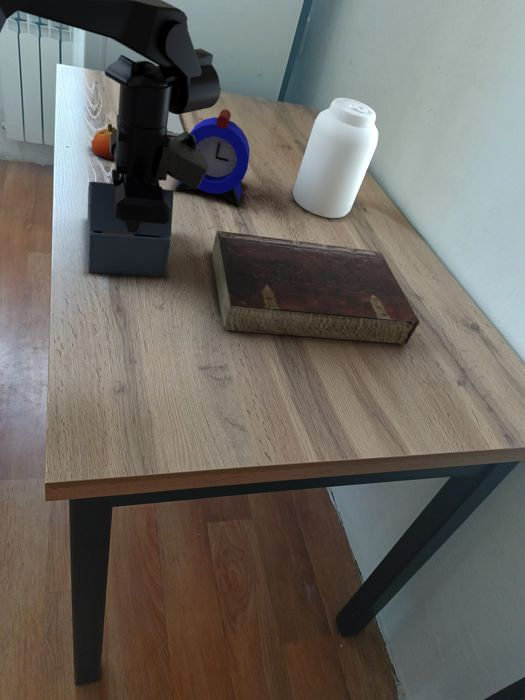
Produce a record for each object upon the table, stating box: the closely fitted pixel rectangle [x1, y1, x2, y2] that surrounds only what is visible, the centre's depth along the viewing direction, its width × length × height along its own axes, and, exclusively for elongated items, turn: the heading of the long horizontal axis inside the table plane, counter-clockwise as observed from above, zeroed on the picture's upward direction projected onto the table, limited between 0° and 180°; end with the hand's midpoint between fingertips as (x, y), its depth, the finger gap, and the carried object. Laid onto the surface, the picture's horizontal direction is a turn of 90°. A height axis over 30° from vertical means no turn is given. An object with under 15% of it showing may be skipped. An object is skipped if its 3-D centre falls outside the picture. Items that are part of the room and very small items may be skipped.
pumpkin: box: [91, 123, 117, 161], centre depth 104 cm, size 8×7×7 cm
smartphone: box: [167, 112, 185, 137], centre depth 120 cm, size 7×1×15 cm
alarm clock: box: [174, 108, 251, 207], centre depth 100 cm, size 12×12×15 cm
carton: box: [86, 181, 171, 277], centre depth 81 cm, size 13×11×7 cm
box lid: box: [90, 181, 175, 238], centre depth 74 cm, size 6×11×1 cm
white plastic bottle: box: [292, 97, 379, 219], centre depth 104 cm, size 12×12×20 cm
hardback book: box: [211, 230, 420, 345], centre depth 84 cm, size 29×19×5 cm, turn 99°
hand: (132, 230), depth 74 cm, fingers closed
